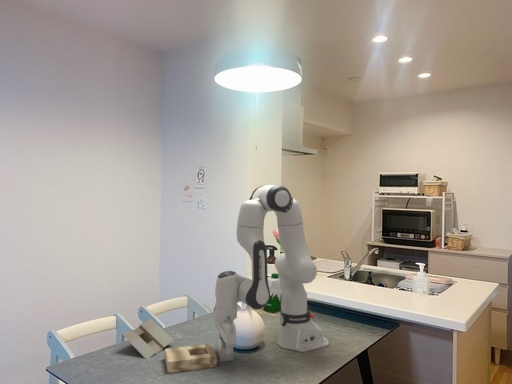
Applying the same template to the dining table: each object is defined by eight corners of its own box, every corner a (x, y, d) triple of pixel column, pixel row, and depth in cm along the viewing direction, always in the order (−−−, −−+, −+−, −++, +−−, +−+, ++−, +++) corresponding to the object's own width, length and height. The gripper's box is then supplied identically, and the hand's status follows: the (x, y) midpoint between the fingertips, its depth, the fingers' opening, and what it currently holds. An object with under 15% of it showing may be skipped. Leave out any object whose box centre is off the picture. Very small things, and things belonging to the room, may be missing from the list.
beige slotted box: (167, 350, 166) (147, 323, 170) (175, 339, 162) (154, 312, 166) (138, 371, 152) (116, 341, 157) (146, 359, 148) (124, 329, 153)
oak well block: (210, 353, 154) (210, 343, 154) (216, 366, 143) (216, 356, 143) (164, 358, 149) (165, 348, 149) (167, 373, 137) (168, 362, 137)
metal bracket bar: (230, 355, 153) (230, 335, 153) (233, 359, 149) (233, 339, 149) (218, 357, 151) (218, 337, 151) (220, 361, 147) (220, 340, 147)
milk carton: (283, 310, 211) (283, 274, 211) (273, 314, 205) (274, 277, 204) (270, 307, 217) (271, 272, 217) (260, 310, 210) (261, 274, 210)
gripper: (240, 321, 141) (239, 358, 141) (227, 305, 161) (226, 337, 161) (224, 322, 139) (223, 360, 139) (212, 306, 159) (212, 339, 159)
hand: (224, 347), depth 150 cm, fingers open, 8 cm apart
